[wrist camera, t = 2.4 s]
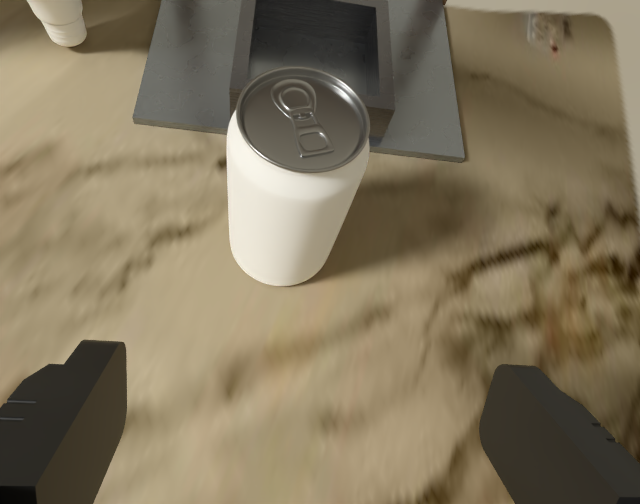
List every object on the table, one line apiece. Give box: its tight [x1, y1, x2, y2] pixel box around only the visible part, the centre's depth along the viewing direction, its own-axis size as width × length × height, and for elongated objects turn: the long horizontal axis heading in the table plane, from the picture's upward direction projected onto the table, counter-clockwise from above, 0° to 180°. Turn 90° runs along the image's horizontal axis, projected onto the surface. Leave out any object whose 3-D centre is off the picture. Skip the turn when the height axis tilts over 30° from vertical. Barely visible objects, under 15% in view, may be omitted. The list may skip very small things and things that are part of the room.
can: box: [227, 66, 370, 286], centre depth 24 cm, size 6×6×12 cm
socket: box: [133, 0, 465, 162], centre depth 36 cm, size 20×24×4 cm
